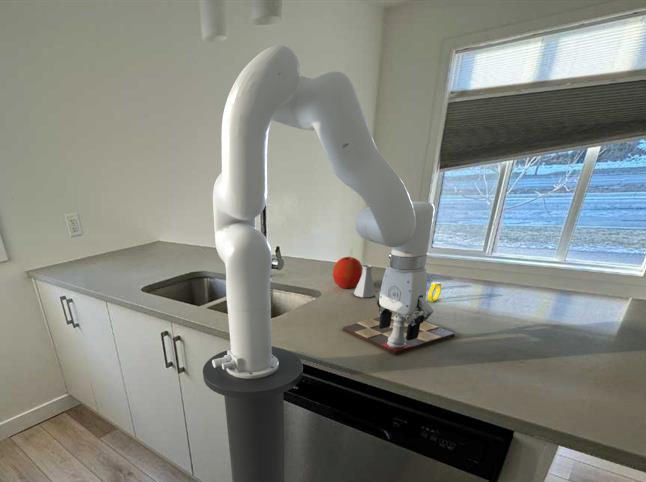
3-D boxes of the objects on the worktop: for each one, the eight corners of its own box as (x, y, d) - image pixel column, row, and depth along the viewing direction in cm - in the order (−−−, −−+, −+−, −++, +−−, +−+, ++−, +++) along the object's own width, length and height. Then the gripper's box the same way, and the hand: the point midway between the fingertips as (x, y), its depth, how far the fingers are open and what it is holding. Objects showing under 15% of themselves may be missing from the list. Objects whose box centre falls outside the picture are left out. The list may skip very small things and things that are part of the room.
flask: (367, 290, 144) (370, 262, 140) (380, 295, 138) (383, 266, 133) (349, 293, 143) (351, 265, 138) (361, 299, 137) (364, 269, 132)
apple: (327, 289, 150) (329, 257, 144) (339, 282, 156) (341, 251, 150) (353, 292, 144) (356, 259, 138) (365, 285, 150) (368, 253, 144)
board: (395, 355, 99) (396, 350, 98) (342, 330, 115) (343, 326, 115) (454, 336, 105) (455, 332, 105) (396, 315, 122) (397, 311, 121)
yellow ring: (432, 304, 127) (436, 285, 124) (424, 302, 129) (427, 284, 126) (441, 299, 130) (444, 281, 128) (432, 297, 132) (436, 279, 129)
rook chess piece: (407, 348, 99) (412, 318, 95) (388, 348, 100) (392, 318, 96) (403, 341, 103) (408, 311, 99) (385, 341, 104) (389, 311, 100)
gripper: (367, 258, 97) (361, 325, 106) (426, 272, 83) (413, 349, 91) (392, 253, 99) (383, 319, 108) (453, 266, 85) (438, 341, 94)
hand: (397, 332), depth 100 cm, fingers open, 8 cm apart
